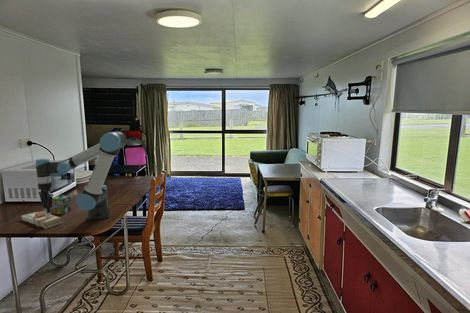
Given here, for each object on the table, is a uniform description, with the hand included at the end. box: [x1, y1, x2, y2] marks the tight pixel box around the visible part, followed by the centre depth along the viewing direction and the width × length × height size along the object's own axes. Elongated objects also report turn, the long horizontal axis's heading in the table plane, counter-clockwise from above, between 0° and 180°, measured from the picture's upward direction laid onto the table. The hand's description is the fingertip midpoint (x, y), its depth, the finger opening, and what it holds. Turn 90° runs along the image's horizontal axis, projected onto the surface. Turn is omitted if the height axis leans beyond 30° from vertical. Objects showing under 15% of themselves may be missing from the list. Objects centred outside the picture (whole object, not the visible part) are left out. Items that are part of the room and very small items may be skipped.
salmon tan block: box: [34, 210, 45, 218], centre depth 198 cm, size 6×5×3 cm
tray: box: [21, 211, 38, 225], centre depth 201 cm, size 16×10×3 cm, turn 61°
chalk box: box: [51, 192, 72, 215], centre depth 216 cm, size 9×9×15 cm
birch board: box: [33, 214, 63, 230], centre depth 194 cm, size 14×10×4 cm
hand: (48, 217), depth 193 cm, fingers closed
